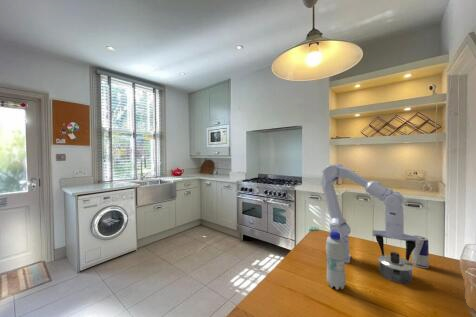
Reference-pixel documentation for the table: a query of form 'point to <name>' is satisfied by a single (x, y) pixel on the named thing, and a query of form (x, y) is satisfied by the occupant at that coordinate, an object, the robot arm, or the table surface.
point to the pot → (396, 274)
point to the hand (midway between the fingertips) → (394, 257)
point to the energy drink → (421, 253)
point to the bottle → (335, 261)
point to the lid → (395, 262)
